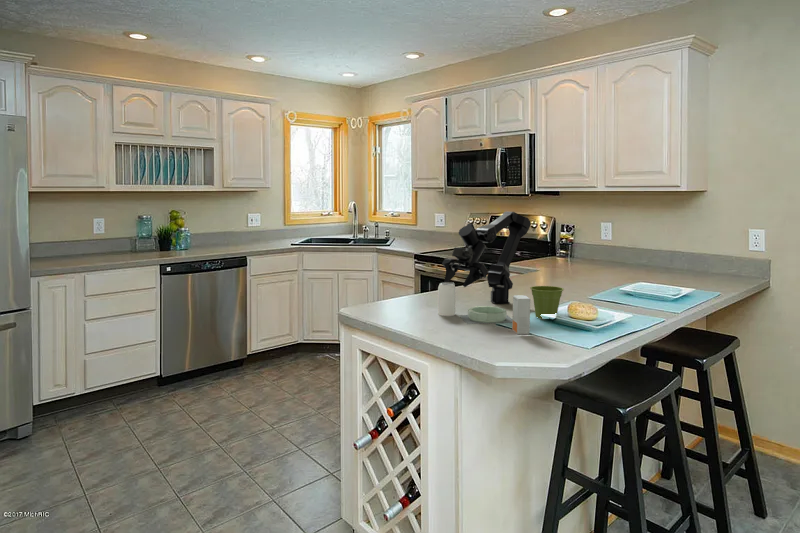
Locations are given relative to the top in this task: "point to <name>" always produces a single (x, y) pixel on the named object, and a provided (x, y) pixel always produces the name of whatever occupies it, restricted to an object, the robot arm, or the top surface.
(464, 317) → the slate mat
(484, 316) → the bowl
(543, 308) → the plant pot
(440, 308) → the can
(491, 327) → the top surface
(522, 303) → the skincare box
